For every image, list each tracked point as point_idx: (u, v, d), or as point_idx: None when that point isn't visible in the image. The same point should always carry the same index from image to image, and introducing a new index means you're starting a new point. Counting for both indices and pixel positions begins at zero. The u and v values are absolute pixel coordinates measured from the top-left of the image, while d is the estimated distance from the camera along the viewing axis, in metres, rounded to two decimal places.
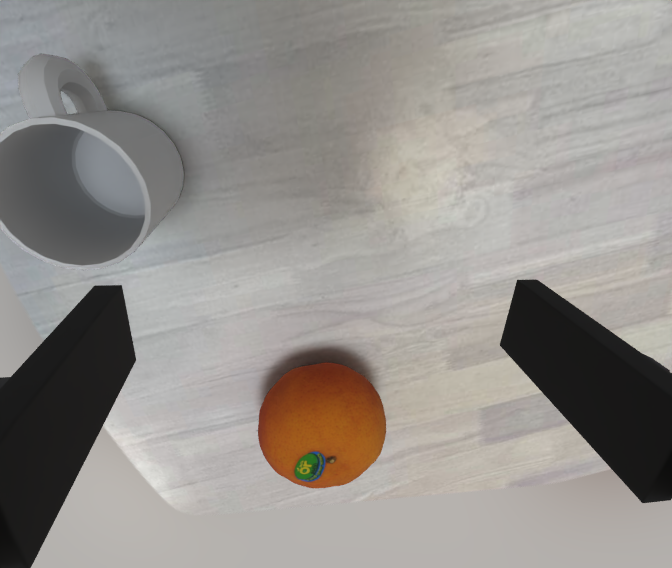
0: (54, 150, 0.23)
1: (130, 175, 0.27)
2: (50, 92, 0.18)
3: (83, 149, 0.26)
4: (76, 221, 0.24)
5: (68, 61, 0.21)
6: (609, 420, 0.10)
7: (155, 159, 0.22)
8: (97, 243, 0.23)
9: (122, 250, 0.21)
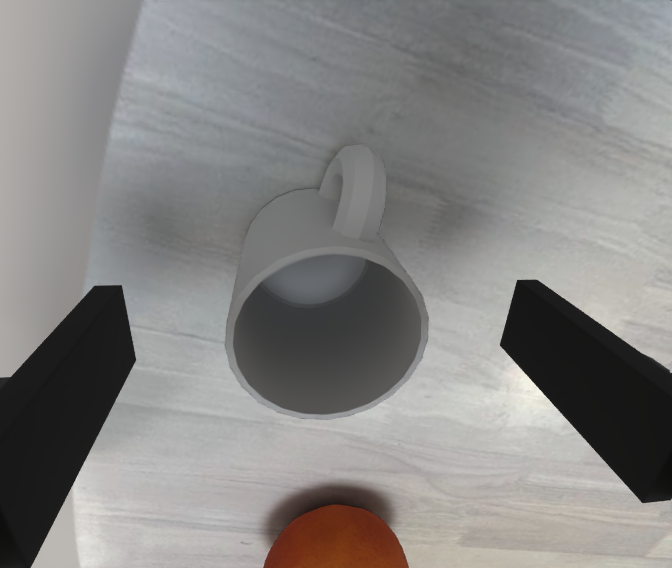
0: None
1: (307, 259, 0.22)
2: (381, 215, 0.14)
3: None
4: (249, 306, 0.19)
5: None
6: (609, 420, 0.10)
7: None
8: (273, 355, 0.18)
9: (320, 394, 0.17)
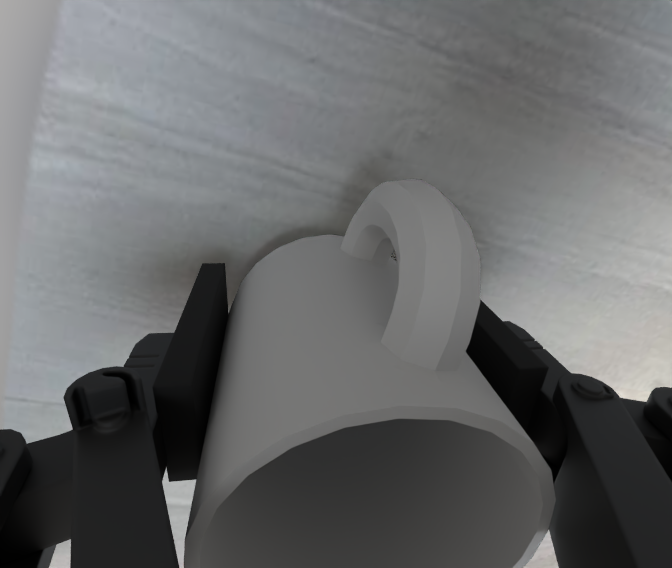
0: None
1: None
2: None
3: None
4: None
5: None
6: None
7: None
8: (274, 505, 0.11)
9: None
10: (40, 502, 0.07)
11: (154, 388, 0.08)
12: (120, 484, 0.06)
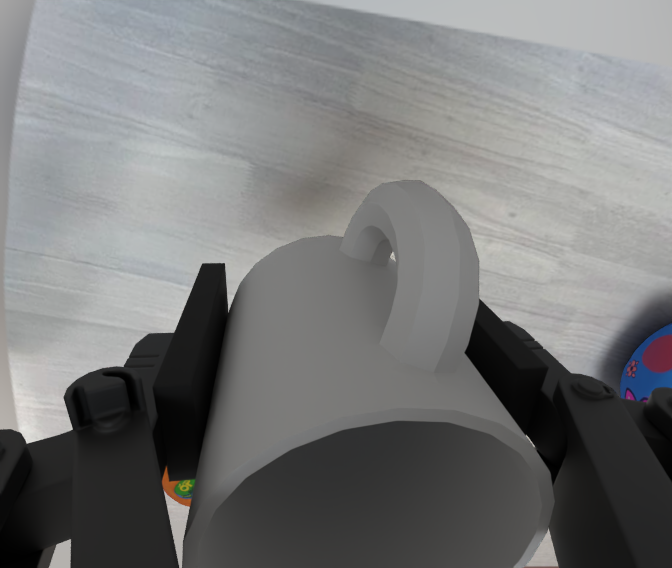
0: None
1: None
2: None
3: None
4: None
5: None
6: None
7: None
8: (273, 506, 0.11)
9: None
10: (40, 502, 0.07)
11: (154, 388, 0.08)
12: (120, 484, 0.06)
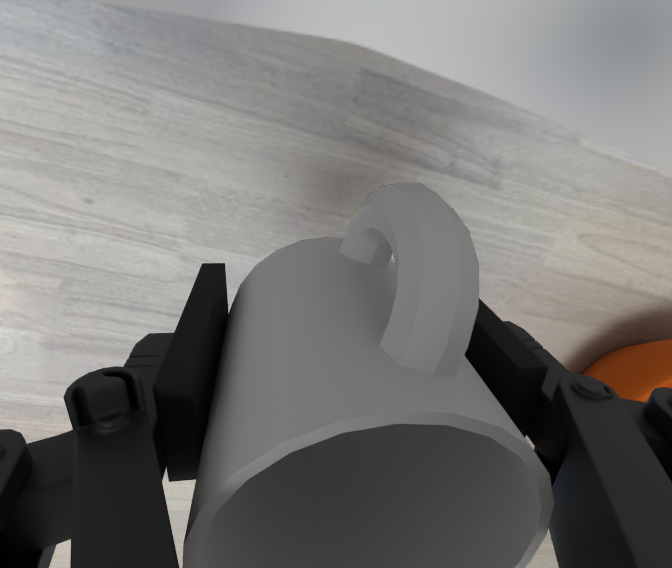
0: None
1: None
2: None
3: None
4: None
5: None
6: None
7: None
8: (273, 508, 0.11)
9: None
10: (40, 502, 0.07)
11: (154, 388, 0.08)
12: (120, 484, 0.06)
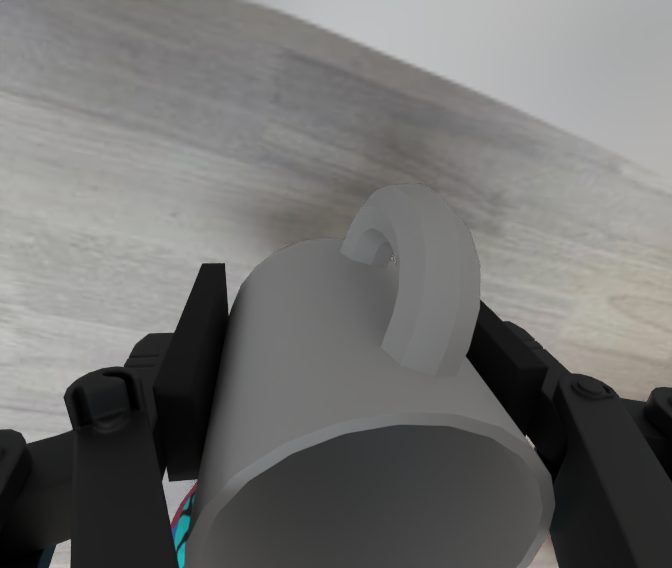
0: None
1: None
2: None
3: None
4: None
5: None
6: None
7: None
8: (274, 508, 0.11)
9: None
10: (40, 502, 0.07)
11: (154, 388, 0.08)
12: (120, 484, 0.06)
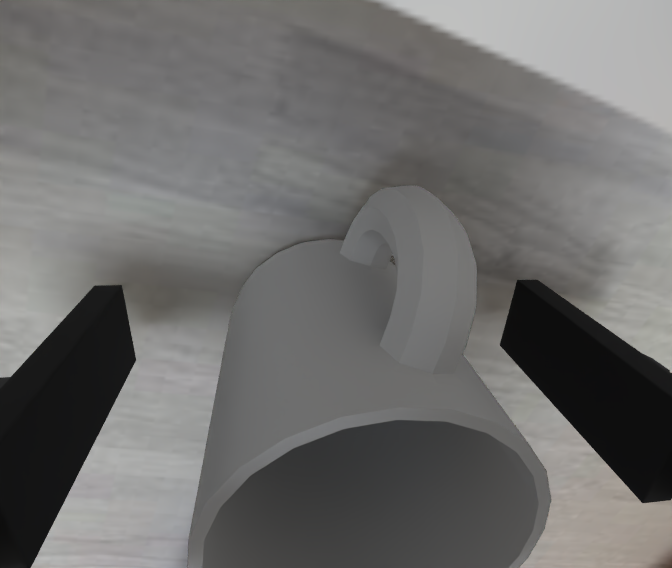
0: None
1: None
2: None
3: None
4: None
5: None
6: (609, 420, 0.10)
7: None
8: (275, 507, 0.11)
9: None
10: None
11: None
12: None
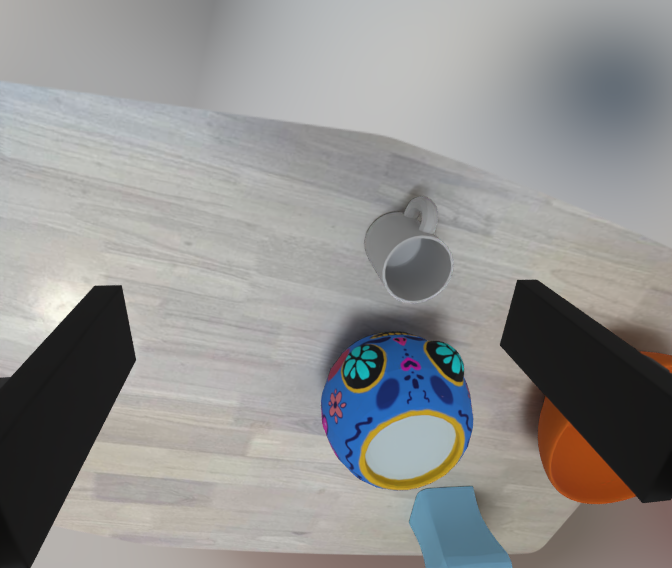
0: None
1: None
2: (436, 224, 0.39)
3: None
4: None
5: None
6: (609, 420, 0.10)
7: None
8: (387, 282, 0.43)
9: (409, 295, 0.42)
10: None
11: None
12: None
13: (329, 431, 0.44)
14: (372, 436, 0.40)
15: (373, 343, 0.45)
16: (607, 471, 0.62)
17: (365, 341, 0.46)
